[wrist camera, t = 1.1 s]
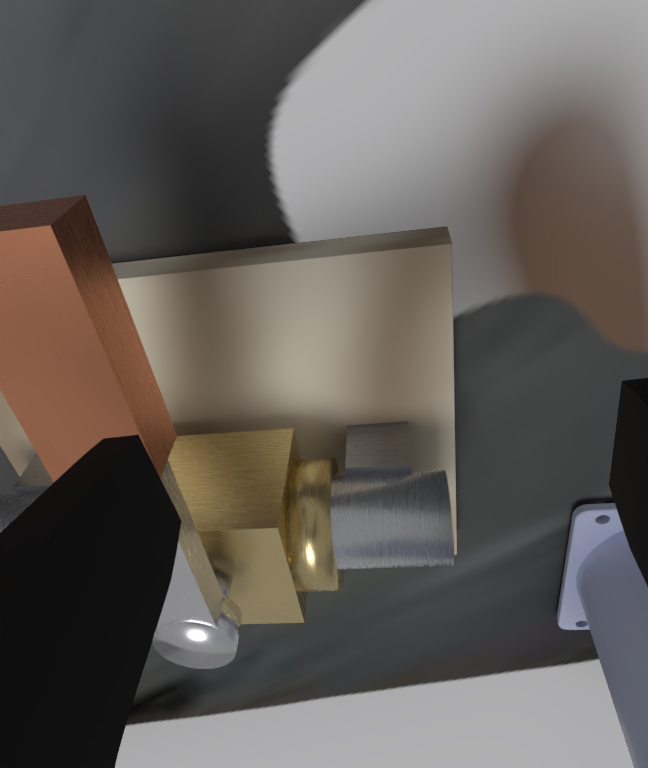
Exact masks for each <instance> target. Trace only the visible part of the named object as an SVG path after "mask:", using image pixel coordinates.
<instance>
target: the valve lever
mask: <svg viewBox="0 0 648 768" xmlns="http://www.w3.org/2000/svg"><path fill="white" fill-rule="evenodd" d="M0 390H1V392H2V394H3V396H4V397H5V399H6V401H7V402H8V404H9V406H10V408H11V409H12V411H13V413H14V415H15V416H16V418H17V420H18V421H19V423H20V425H21V427H22V428H23V430H24V432H25V433H26V435H27V437H28V439H29V440H30V442H31V444H32V446H33V447H34V449H35V451H36V452H37V454H38V456H39V458H40V459H41V461H42V463H43V465H44V466H45V468H46V470H47V471H48V473H49V475H50V477H51V478H52V480H53V482H55V481H56V480H57V479H58V478H59V477H60V476H61V475H62V474H64V473H65V472H66V471H67V470H68V469H69V468H70V467H71V466H72V465H73V464H74V463H75V462H77V461H78V460H79V459H80V458H81V457H82V456H83V455H84V454H85V453H87V452H88V451H89V450H90V449H91V448H92V447H94V446H95V445H96V444H97V443H99V442H100V441H101V440H102V439H104V438H113V437H122V436H131V435H139V437H140V439H141V441H142V443H143V445H144V447H145V449H146V451H147V453H148V455H149V457H150V459H151V461H152V463H153V465H154V467H155V469H156V471H157V473H158V475H159V477H160V479H161V481H162V483H163V485H164V487H165V489H166V491H167V493H168V495H169V497H170V499H171V501H172V503H173V505H174V507H175V509H176V511H177V513H178V515H179V517H180V519H181V527H180V533H179V540H178V546H177V552H176V558H175V563H174V568H173V573H172V578H171V582H170V586H169V589H168V592H167V596H166V599H165V602H164V605H163V609H162V612H161V615H160V618H159V622H158V625H157V628H156V631H155V634H154V637H153V645H154V648H155V649H156V651H157V652H158V653H159V654H160V655H162V656H163V657H164V658H166V659H167V660H169V661H171V662H173V663H176V664H178V665H182V666H185V667H190V668H197V669H212V668H218V667H221V666H224V665H226V664H228V663H230V662H231V661H232V660H233V659H234V657H235V655H236V650H237V645H238V639H239V634H240V629H241V624H242V618H243V615H242V611H241V609H240V608H239V606H238V605H237V604H236V603H235V602H234V601H232V600H231V599H229V598H228V597H226V596H224V595H223V594H222V591H221V589H220V586H219V584H218V581H217V579H216V576H215V574H214V571H213V569H212V566H211V564H210V562H209V559H208V557H207V554H206V552H205V549H204V547H203V544H202V542H201V539H200V537H199V534H198V532H197V530H196V527H195V525H194V522H193V520H192V517H191V515H190V512H189V510H188V507H187V505H186V502H185V500H184V498H183V495H182V493H181V490H180V488H179V485H178V483H177V480H176V478H175V475H174V473H173V471H172V468H171V466H170V463H169V461H168V457H169V455H170V452H171V450H172V447H173V445H174V442H175V440H176V437H177V434H176V431H175V428H174V426H173V423H172V421H171V418H170V415H169V413H168V410H167V407H166V405H165V402H164V400H163V397H162V394H161V392H160V389H159V386H158V384H157V381H156V379H155V376H154V373H153V371H152V368H151V366H150V363H149V360H148V358H147V355H146V352H145V350H144V347H143V345H142V342H141V339H140V337H139V334H138V331H137V329H136V326H135V324H134V321H133V318H132V316H131V313H130V310H129V308H128V305H127V303H126V300H125V297H124V295H123V292H122V290H121V287H120V284H119V282H118V279H117V276H116V274H115V271H114V269H113V266H112V263H111V261H110V258H109V255H108V253H107V250H106V248H105V245H104V242H103V240H102V237H101V234H100V232H99V229H98V227H97V224H96V221H95V219H94V216H93V214H92V211H91V208H90V206H89V203H88V200H87V198H86V195H82V196H75V197H67V198H59V199H51V200H43V201H36V202H28V203H20V204H12V205H4V206H0Z"/></svg>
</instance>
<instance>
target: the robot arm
mask: <svg viewBox="0 0 648 768" xmlns="http://www.w3.org/2000/svg"><path fill="white" fill-rule="evenodd" d="M609 486H610V489H611V492H612V496H613V499H614V502H615V503H602V504H585V505H581V506H579V507H577V508H576V509H575V510H574V512H573V514H572V521H571V527H570V534H569V540H568V547H567V553H566V560H565V566H564V572H563V579H562V585H561V592H560V598H559V605H558V611H557V622H558V625H559V627H561V628H562V629H565V630H589V629H590V632H591V635H592V638H593V641H594V644H595V647H596V650H597V653H598V656H599V659H600V663H601V665H602V669H603V672H604V675H605V678H606V681H607V684H608V687H609V690H610V693H611V697H612V700H613V703H614V706H615V709H616V712H617V715H618V718H619V722H620V725H621V728H622V731H623V734H624V737H625V740H626V743H627V747H628V750H629V752H630V756H631V759H632V762H633V765H634V768H648V378H644V379H635V380H626V381H622V385H621V393H620V401H619V409H618V417H617V425H616V433H615V441H614V449H613V457H612V465H611V473H610V481H609ZM601 515H602V516H601ZM180 527H181V519H180V517H179V515H178V513H177V511H176V509H175V507H174V505H173V503H172V501H171V499H170V497H169V495H168V493H167V491H166V489H165V487H164V485H163V483H162V481H161V479H160V477H159V475H158V473H157V471H156V469H155V467H154V465H153V463H152V461H151V459H150V457H149V455H148V453H147V451H146V449H145V447H144V445H143V443H142V441H141V439H140V437H139V435H131V436H122V437H113V438H104V439H102V440H101V441H100V442H99V443H97V444H96V445H95V446H94V447H92V448H91V449H90V450H89V451H88V452H87V453H85V454H84V455H83V456H82V457H81V458H80V459H79V460H78V461H77V462H75V463H74V464H73V465H72V466H71V467H70V468H69V469H68V470H67V471H66V472H65V473H64V474H62V475H61V476H60V477H59V478H58V479H57V480H56V481H55V482H54V483H53V484H52V485H51V486H50V487H49V488H48V489H46V490H45V491H44V492H43V493H42V494H41V495H40V496H39V497H38V498H37V499H36V500H35V501H34V502H33V503H32V504H31V505H29V506H28V507H27V508H26V509H25V510H24V511H23V512H22V513H21V514H20V515H19V516H18V517H17V518H16V519H14V520H13V521H12V522H11V523H10V524H9V525H8V526H7V527H6V528H5V529H4V530H3V531H2V532H0V768H115V762H116V759H117V754H118V751H119V747H120V743H121V739H122V736H123V733H124V729H125V725H126V722H127V719H128V716H129V712H130V709H131V706H132V703H133V700H134V697H135V694H136V691H137V687H138V684H139V681H140V678H141V675H142V672H143V669H144V665H145V662H146V659H147V656H148V653H149V650H150V647H151V644H152V641H153V637H154V634H155V631H156V628H157V625H158V622H159V618H160V615H161V612H162V609H163V605H164V602H165V599H166V596H167V592H168V589H169V586H170V582H171V578H172V573H173V568H174V563H175V558H176V552H177V546H178V540H179V533H180Z"/></svg>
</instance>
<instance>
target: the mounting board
mask: <svg viewBox="0 0 648 768" xmlns="http://www.w3.org/2000/svg"><path fill="white" fill-rule="evenodd" d="M112 266H113V269H114V271H115V274H116V276H117V279H118V282H119V284H120V287H121V290H122V292H123V295H124V297H125V300H126V303H127V305H128V308H129V310H130V313H131V316H132V318H133V321H134V324H135V326H136V329H137V331H138V334H139V337H140V339H141V342H142V345H143V347H144V350H145V352H146V355H147V358H148V360H149V363H150V366H151V368H152V371H153V373H154V376H155V379H156V381H157V384H158V386H159V389H160V392H161V394H162V397H163V400H164V402H165V405H166V407H167V410H168V413H169V415H170V418H171V421H172V423H173V426H174V428H175V431H176V434H177V436H187V435H202V434H217V433H232V432H246V431H261V430H276V429H291V428H294V432H295V437H296V441H297V446H298V450H299V454H300V459H307V458H324V457H334V458H335V459H336V462H337V465H338V469H339V474H340V476H346V471H345V458H346V438H347V425H359V424H374V423H389V422H404V421H408V429H409V441H410V454H411V467H412V472H419V471H437V470H445V471H446V475H447V480H448V487H449V495H450V504H451V514H452V525H453V539H454V555H457V536H456V473H455V410H454V347H453V284H452V242H451V239H450V235H449V232H448V228H447V227H438V228H430V229H420V230H411V231H402V232H393V233H384V234H375V235H366V236H357V237H348V238H339V239H330V240H321V241H312V242H302V243H293V244H284V245H275V246H266V247H257V248H248V249H239V250H230V251H221V252H212V253H203V254H194V255H185V256H176V257H167V258H158V259H149V260H140V261H131V262H122V263H113V264H112ZM0 446H1V447H2V449H3V451H4V452H5V454H6V455H7V457H8V459H9V460H10V462H11V463H12V465H13V467H14V468H15V470H16V471H17V473H18V475H19V476H21V475H22V473H23V472H24V470H25V469H26V467H27V466H28V464H29V463H30V461H31V460H32V458H33V457H34V455H35V454H36V451H35V449H34V447H33V446H32V444H31V442H30V440H29V439H28V437H27V435H26V433H25V432H24V430H23V428H22V427H21V425H20V423H19V421H18V420H17V418H16V416H15V415H14V413H13V411H12V409H11V408H10V406H9V404H8V402H7V401H6V399H5V397H4V396H3V394H2V392H1V390H0Z"/></svg>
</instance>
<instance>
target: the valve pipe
mask: <svg viewBox="0 0 648 768" xmlns="http://www.w3.org/2000/svg"><path fill="white" fill-rule="evenodd" d="M168 461H169V463H170V466H171V468H172V471H173V473H174V475H175V478H176V480H177V483H178V485H179V488H180V490H181V493H182V495H183V498H184V500H185V502H186V505H187V507H188V510H189V512H190V515H191V517H192V520H193V522H194V525H195V527H196V530H197V532H198V534H199V537H200V539H201V542H202V544H203V547H204V549H205V552H206V554H207V557H208V559H209V562H210V564H211V566H212V569H213V571H214V574H215V576H216V579H217V581H218V584H219V586H220V589H221V591H222V594H223V595H224V596H226V597H228V598H229V599H231V600H232V601H234V602H235V603H236V604H237V605H238V606H239V608H240V609H241V611H242V615H243V618H242V624H263V623H305V613H306V602H307V592H308V591H339V590H341V588H342V585H343V580H344V570H345V569H368V568H397V567H426V566H454V539H453V525H452V514H451V504H450V495H449V487H448V480H447V475H446V471H445V470H437V471H419V472H412V467H411V454H410V441H409V429H408V421H404V422H389V423H374V424H359V425H347V438H346V458H345V471H346V476H340V474H339V469H338V465H337V462H336V459H335V458H334V457H324V458H307V459H300V454H299V450H298V446H297V441H296V437H295V432H294V428H291V429H276V430H261V431H246V432H232V433H217V434H202V435H187V436H177V437H176V440H175V442H174V445H173V447H172V450H171V452H170V455H169V457H168ZM53 483H54V482H53V480H52V478H51V477H50V475H49V473H48V471H47V470H46V468H45V466H44V465H43V463H42V461H41V459H40V458H39V456H38V454H37V452H36V454H35V455H34V457H33V458H32V460H31V461H30V463H29V464H28V466H27V467H26V469H25V470H24V472H23V473H22V475H21V476H20V478H19V479H18V481H17V482H16V484H15V485H14V489H15V490H16V492H17V494H7V495H0V532H2V531H3V530H4V529H5V528H6V527H7V526H8V525H9V524H10V523H11V522H12V521H13V520H14V519H16V518H17V517H18V516H19V515H20V514H21V513H22V512H23V511H24V510H25V509H26V508H27V507H28V506H29V505H31V504H32V503H33V502H34V501H35V500H36V499H37V498H38V497H39V496H40V495H41V494H42V493H43V492H44V491H45V490H46V489H48V488H49V487H50V486H51V485H52V484H53Z"/></svg>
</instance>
